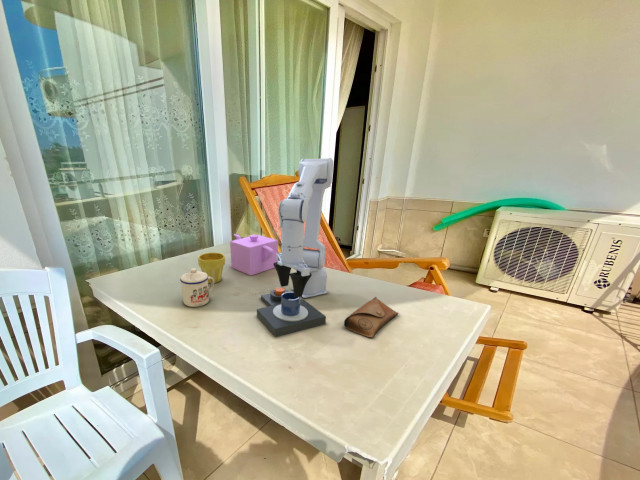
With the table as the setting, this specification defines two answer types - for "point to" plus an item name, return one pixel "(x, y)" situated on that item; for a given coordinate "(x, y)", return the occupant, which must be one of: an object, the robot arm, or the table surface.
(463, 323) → the table surface
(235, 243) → the teapot
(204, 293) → the teacup with lid
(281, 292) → the button
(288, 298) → the blue cup
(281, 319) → the scale
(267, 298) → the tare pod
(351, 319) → the sunglasses case
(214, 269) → the flower pot
